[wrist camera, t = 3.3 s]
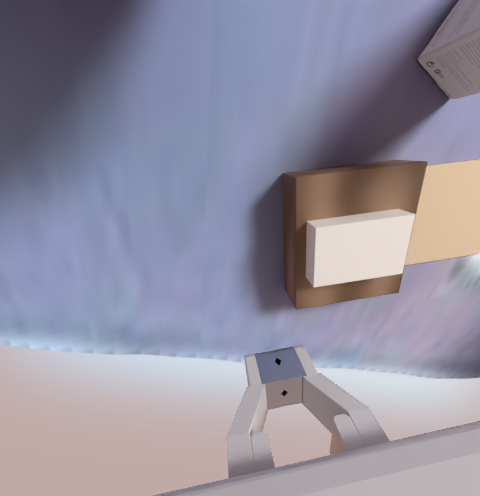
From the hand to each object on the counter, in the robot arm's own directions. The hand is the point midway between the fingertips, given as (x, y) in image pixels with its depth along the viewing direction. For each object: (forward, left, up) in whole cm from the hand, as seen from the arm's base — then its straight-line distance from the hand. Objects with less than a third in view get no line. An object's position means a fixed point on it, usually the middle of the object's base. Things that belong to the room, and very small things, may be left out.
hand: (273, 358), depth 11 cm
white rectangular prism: (-11, 0, -11) cm, 16 cm away
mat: (-24, 0, -15) cm, 29 cm away
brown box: (-11, 0, -15) cm, 19 cm away
